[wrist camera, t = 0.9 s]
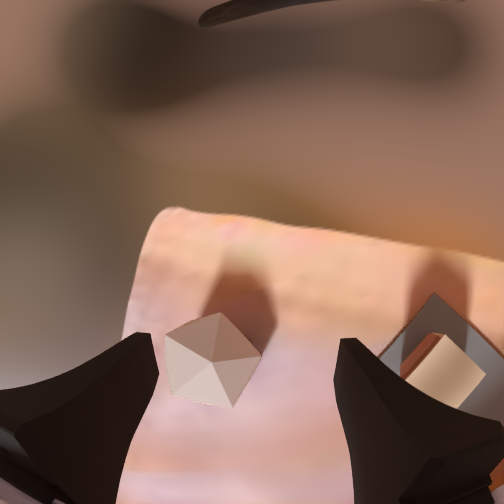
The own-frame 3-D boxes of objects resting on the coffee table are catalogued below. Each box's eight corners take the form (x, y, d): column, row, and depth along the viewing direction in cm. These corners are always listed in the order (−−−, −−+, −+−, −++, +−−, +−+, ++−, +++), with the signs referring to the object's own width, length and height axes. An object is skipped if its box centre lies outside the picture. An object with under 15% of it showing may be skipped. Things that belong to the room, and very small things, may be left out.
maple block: (463, 362, 18) (486, 374, 12) (431, 399, 19) (441, 424, 13) (429, 329, 20) (441, 331, 14) (397, 367, 21) (396, 382, 15)
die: (290, 339, 27) (210, 281, 23) (265, 427, 22) (166, 382, 18) (235, 347, 33) (165, 301, 29) (210, 418, 27) (128, 378, 24)
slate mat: (531, 389, 14) (532, 390, 14) (461, 467, 15) (461, 469, 15) (433, 293, 21) (434, 292, 21) (363, 375, 22) (362, 376, 22)
